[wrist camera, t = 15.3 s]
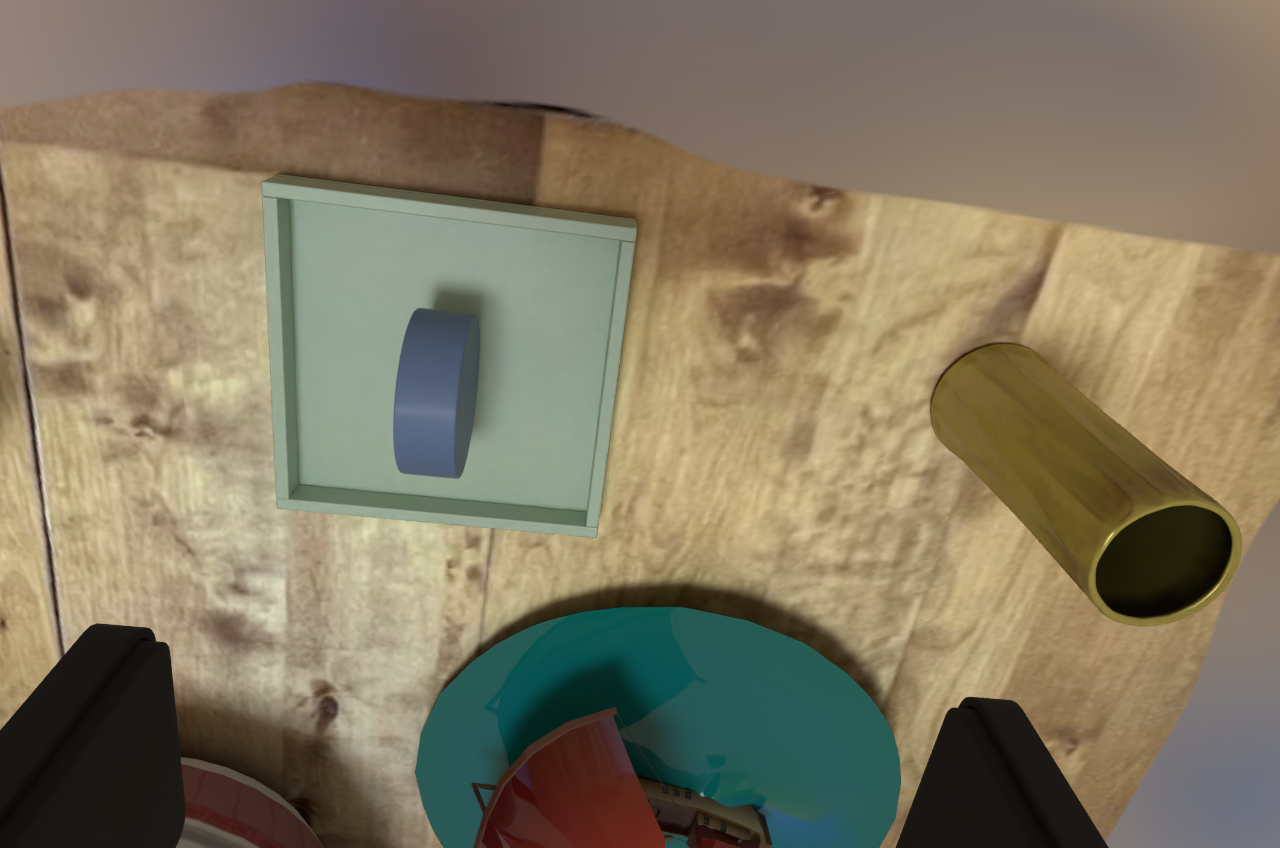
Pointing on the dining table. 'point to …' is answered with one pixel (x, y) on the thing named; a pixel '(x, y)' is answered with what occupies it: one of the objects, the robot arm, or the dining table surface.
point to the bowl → (237, 812)
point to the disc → (436, 393)
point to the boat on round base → (656, 740)
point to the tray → (508, 358)
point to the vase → (1086, 488)
